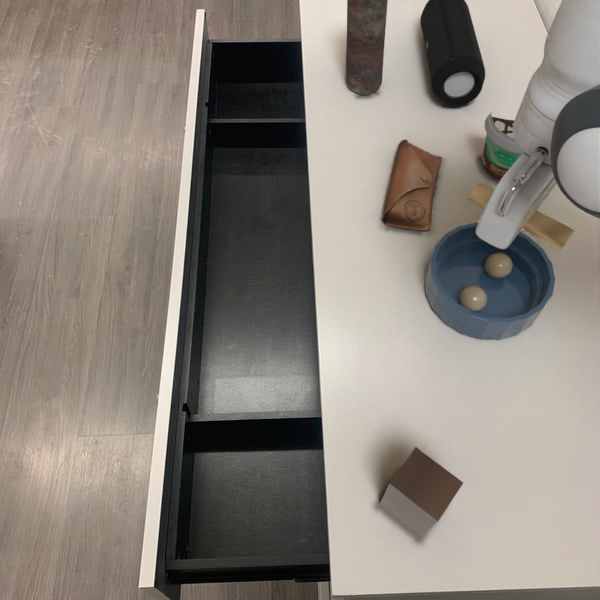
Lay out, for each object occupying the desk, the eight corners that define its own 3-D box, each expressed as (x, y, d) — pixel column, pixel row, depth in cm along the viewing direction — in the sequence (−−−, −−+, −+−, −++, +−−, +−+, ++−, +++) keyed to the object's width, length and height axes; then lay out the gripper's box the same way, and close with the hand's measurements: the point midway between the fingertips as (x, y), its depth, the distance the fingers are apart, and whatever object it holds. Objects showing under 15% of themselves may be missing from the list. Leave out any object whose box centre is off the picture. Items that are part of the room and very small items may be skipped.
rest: (442, 503, 66) (463, 482, 56) (420, 537, 64) (438, 521, 54) (402, 472, 68) (415, 446, 58) (379, 504, 66) (389, 483, 56)
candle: (337, 86, 108) (339, -14, 91) (358, 68, 111) (364, -32, 94) (367, 101, 106) (375, 1, 89) (388, 82, 108) (400, -19, 91)
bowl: (560, 283, 82) (576, 260, 77) (504, 363, 75) (517, 345, 70) (461, 229, 88) (470, 204, 83) (402, 298, 82) (407, 277, 77)
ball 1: (488, 303, 80) (495, 289, 76) (474, 322, 78) (481, 308, 75) (464, 290, 81) (471, 275, 78) (451, 307, 80) (456, 293, 76)
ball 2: (512, 271, 83) (521, 256, 79) (500, 288, 81) (507, 273, 78) (489, 258, 84) (496, 243, 81) (477, 274, 83) (483, 259, 79)
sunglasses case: (432, 231, 87) (417, 205, 83) (394, 238, 91) (377, 214, 87) (443, 155, 96) (430, 127, 92) (407, 165, 100) (393, 139, 96)
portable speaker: (415, 34, 117) (423, -13, 108) (461, 32, 116) (472, -14, 108) (428, 111, 103) (438, 66, 95) (480, 110, 103) (494, 64, 94)
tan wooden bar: (570, 237, 60) (575, 229, 59) (561, 249, 60) (566, 242, 58) (477, 189, 65) (479, 181, 63) (467, 199, 64) (470, 191, 63)
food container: (467, 179, 94) (481, 135, 85) (473, 155, 97) (488, 110, 88) (539, 195, 91) (561, 151, 83) (543, 170, 94) (565, 125, 86)
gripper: (545, 203, 45) (499, 290, 57) (640, 79, 53) (582, 178, 65) (479, 170, 47) (448, 260, 59) (580, 56, 55) (534, 155, 67)
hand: (519, 216), depth 62 cm, fingers closed on tan wooden bar, 2 cm apart
